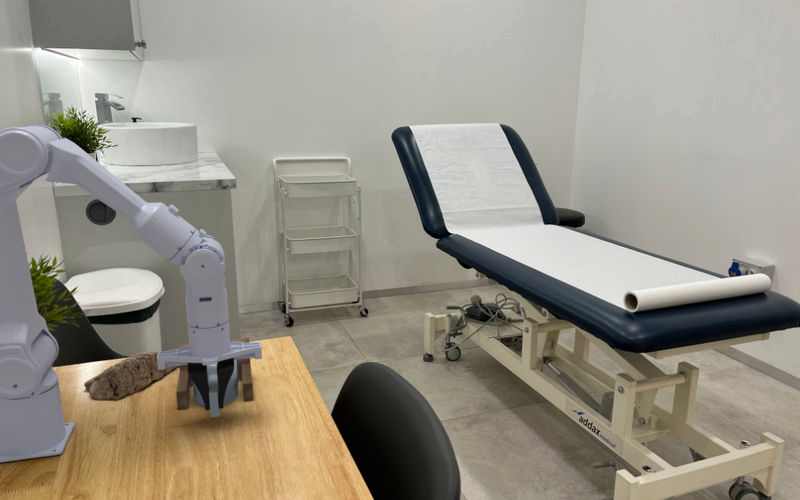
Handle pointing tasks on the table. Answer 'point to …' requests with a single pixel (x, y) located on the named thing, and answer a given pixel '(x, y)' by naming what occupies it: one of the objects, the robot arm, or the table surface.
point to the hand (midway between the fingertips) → (214, 406)
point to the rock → (126, 377)
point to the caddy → (186, 382)
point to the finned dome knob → (213, 389)
